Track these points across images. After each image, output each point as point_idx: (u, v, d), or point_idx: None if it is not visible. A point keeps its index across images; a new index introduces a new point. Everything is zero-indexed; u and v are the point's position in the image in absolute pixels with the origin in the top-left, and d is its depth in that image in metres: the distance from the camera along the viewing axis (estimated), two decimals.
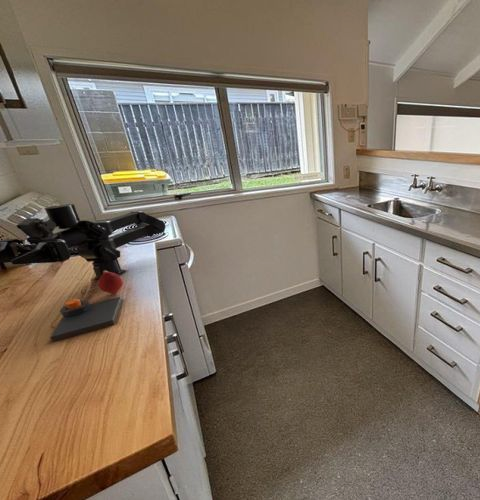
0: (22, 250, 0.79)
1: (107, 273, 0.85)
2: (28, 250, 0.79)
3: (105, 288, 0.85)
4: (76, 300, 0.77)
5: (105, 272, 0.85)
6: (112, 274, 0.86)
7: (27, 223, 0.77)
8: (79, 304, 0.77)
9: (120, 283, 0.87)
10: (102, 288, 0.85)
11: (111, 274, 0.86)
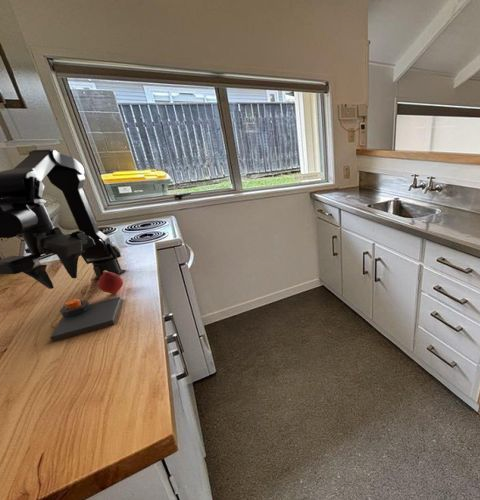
0: None
1: (107, 273, 0.85)
2: None
3: (105, 288, 0.85)
4: (76, 300, 0.77)
5: (105, 272, 0.85)
6: (112, 274, 0.86)
7: (79, 250, 0.71)
8: (79, 304, 0.77)
9: (120, 283, 0.87)
10: (102, 288, 0.85)
11: (111, 274, 0.86)
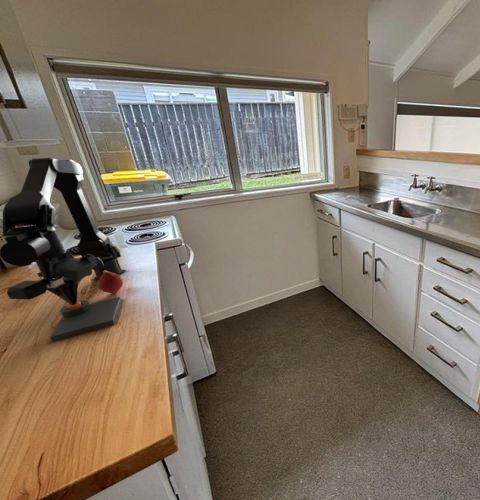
0: None
1: (107, 273, 0.85)
2: None
3: (105, 288, 0.85)
4: (77, 303, 0.77)
5: (105, 272, 0.85)
6: (112, 274, 0.86)
7: (89, 273, 0.73)
8: None
9: (120, 283, 0.87)
10: (102, 288, 0.85)
11: (111, 274, 0.86)
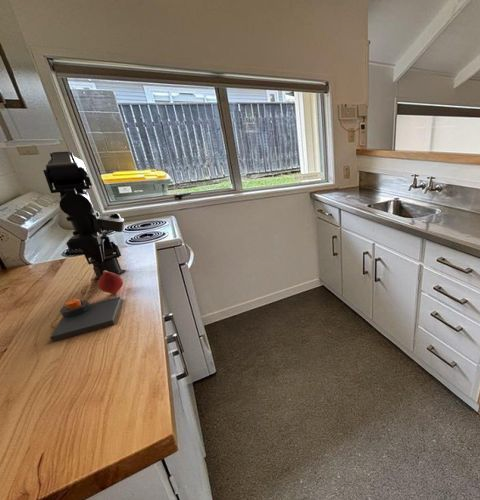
0: None
1: (107, 273, 0.85)
2: None
3: (105, 288, 0.85)
4: (76, 300, 0.77)
5: (105, 272, 0.85)
6: (112, 274, 0.86)
7: (123, 227, 0.85)
8: (79, 304, 0.77)
9: (120, 283, 0.87)
10: (102, 288, 0.85)
11: (111, 274, 0.86)
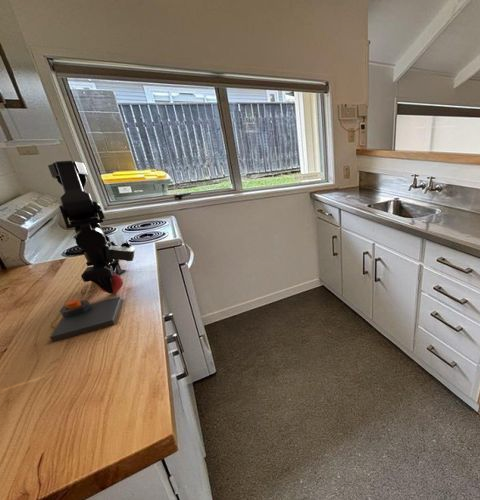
0: None
1: None
2: None
3: None
4: (76, 300, 0.77)
5: None
6: None
7: None
8: (79, 304, 0.77)
9: (120, 283, 0.87)
10: None
11: None
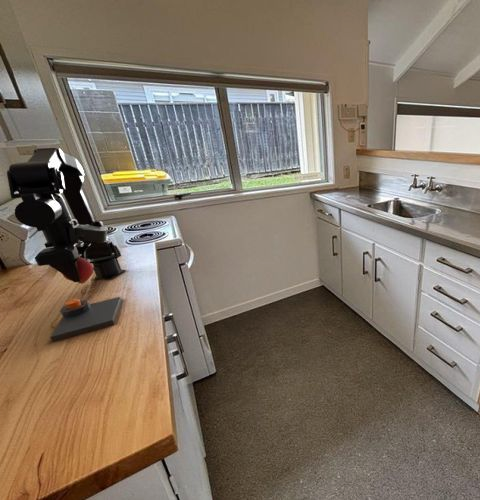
0: None
1: None
2: None
3: None
4: (76, 300, 0.77)
5: None
6: (79, 259, 0.71)
7: (106, 237, 0.74)
8: (79, 304, 0.77)
9: (89, 270, 0.72)
10: None
11: (78, 259, 0.71)
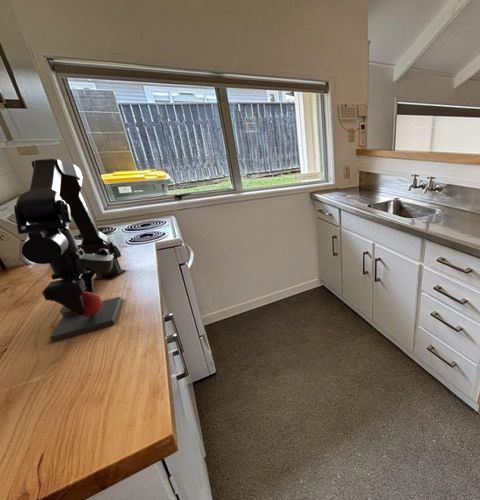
0: None
1: None
2: None
3: None
4: None
5: None
6: (88, 294, 0.72)
7: (112, 265, 0.74)
8: None
9: (98, 305, 0.73)
10: None
11: (88, 294, 0.72)
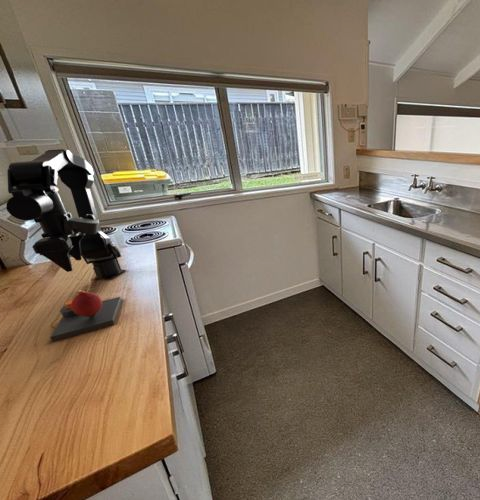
0: None
1: (82, 293, 0.71)
2: None
3: (80, 312, 0.70)
4: None
5: (80, 292, 0.71)
6: (88, 294, 0.72)
7: (98, 229, 0.81)
8: None
9: (98, 305, 0.73)
10: (76, 311, 0.70)
11: (88, 294, 0.72)
